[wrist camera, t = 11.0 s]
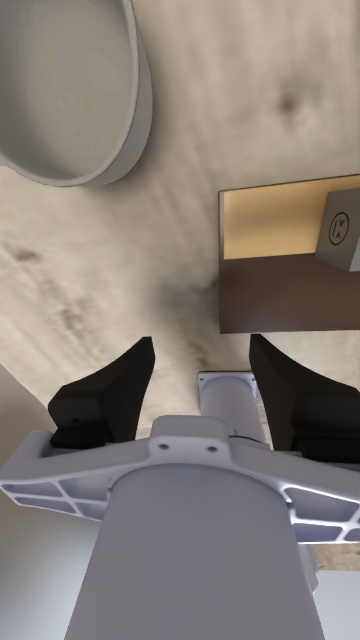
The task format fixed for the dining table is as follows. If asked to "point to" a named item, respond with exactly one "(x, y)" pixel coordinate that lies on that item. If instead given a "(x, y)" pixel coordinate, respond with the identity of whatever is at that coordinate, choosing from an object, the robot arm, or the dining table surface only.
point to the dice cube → (341, 230)
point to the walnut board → (282, 261)
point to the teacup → (72, 90)
